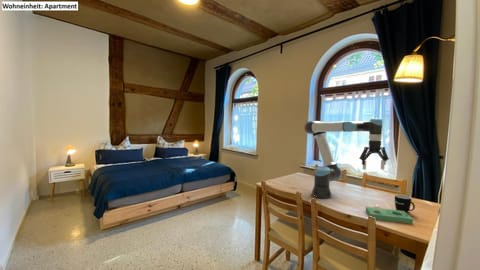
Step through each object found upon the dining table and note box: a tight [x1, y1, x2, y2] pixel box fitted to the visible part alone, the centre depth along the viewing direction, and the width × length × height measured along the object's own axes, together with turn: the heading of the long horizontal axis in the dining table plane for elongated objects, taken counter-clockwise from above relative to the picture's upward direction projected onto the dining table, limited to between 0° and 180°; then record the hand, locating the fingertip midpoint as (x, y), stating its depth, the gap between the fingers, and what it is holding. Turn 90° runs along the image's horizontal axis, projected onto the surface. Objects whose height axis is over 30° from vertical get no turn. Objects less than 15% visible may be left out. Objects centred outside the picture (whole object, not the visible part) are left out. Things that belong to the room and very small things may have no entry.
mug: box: [394, 193, 416, 214], centre depth 144 cm, size 12×9×10 cm
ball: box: [373, 204, 382, 212], centre depth 137 cm, size 4×4×4 cm
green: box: [365, 206, 414, 225], centre depth 136 cm, size 22×12×3 cm, turn 73°
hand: (373, 169), depth 153 cm, fingers open, 13 cm apart
